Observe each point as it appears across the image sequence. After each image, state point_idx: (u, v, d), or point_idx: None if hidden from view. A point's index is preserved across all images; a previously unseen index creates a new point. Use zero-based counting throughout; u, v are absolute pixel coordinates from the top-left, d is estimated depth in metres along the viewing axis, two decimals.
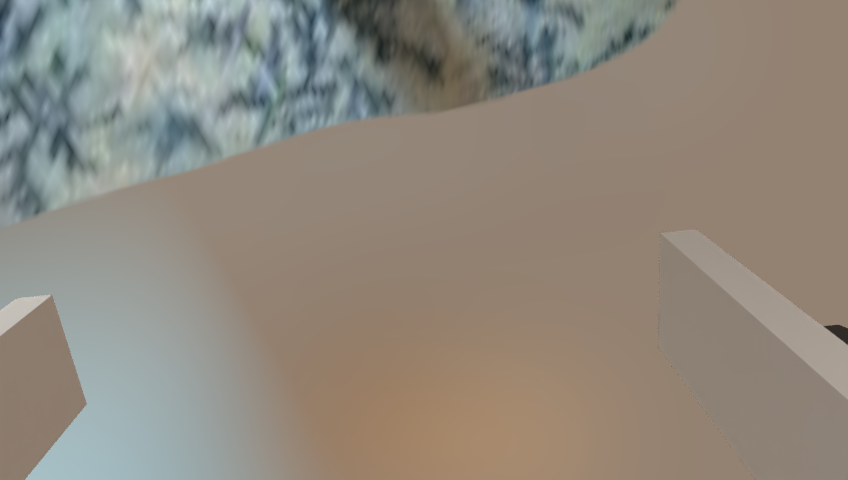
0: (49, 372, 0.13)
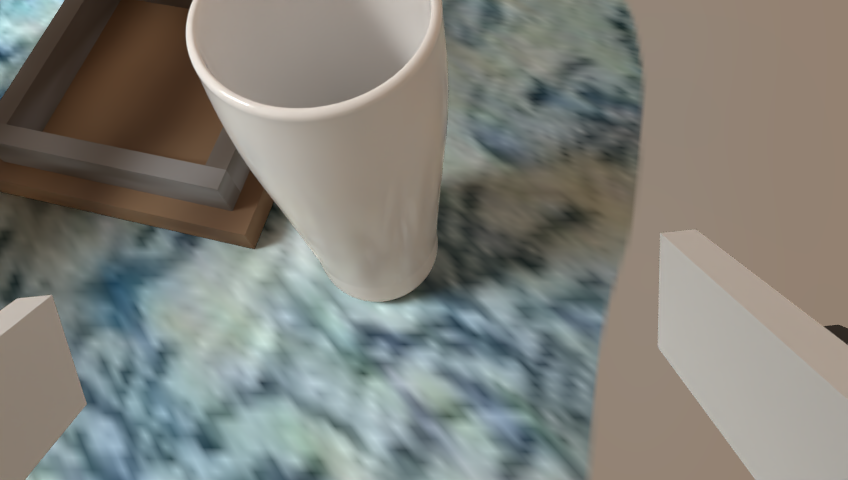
0: (49, 372, 0.13)
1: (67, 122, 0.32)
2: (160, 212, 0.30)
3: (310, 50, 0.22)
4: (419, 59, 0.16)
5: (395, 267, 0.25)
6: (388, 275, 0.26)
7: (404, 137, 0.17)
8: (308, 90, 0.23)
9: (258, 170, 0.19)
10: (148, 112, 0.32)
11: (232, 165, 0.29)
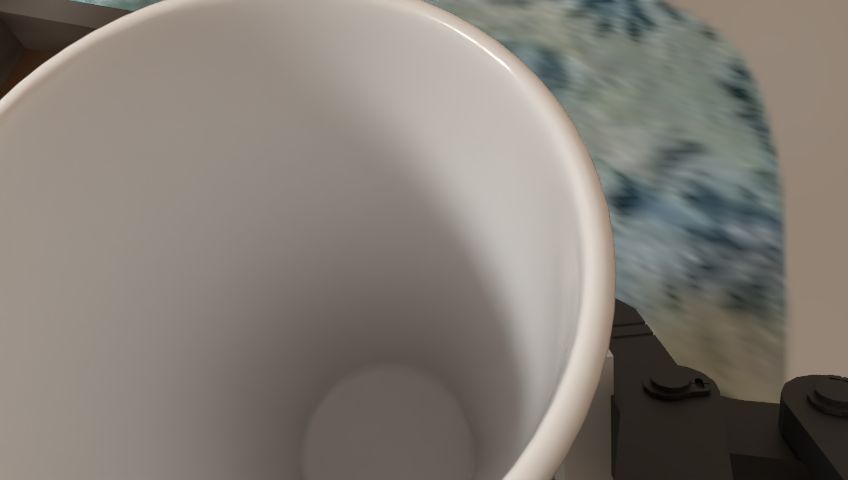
0: None
1: None
2: None
3: (272, 209, 0.11)
4: (569, 432, 0.05)
5: None
6: None
7: None
8: (271, 267, 0.13)
9: None
10: None
11: None
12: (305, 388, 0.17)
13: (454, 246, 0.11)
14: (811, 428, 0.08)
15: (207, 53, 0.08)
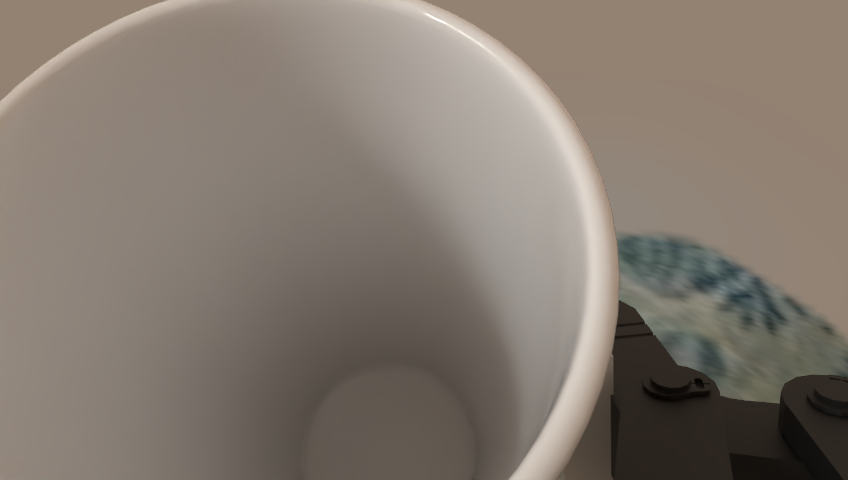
0: None
1: None
2: None
3: (273, 210, 0.11)
4: (572, 435, 0.05)
5: None
6: None
7: None
8: (272, 268, 0.13)
9: None
10: None
11: None
12: (305, 389, 0.17)
13: (455, 247, 0.11)
14: (811, 428, 0.08)
15: (208, 54, 0.08)
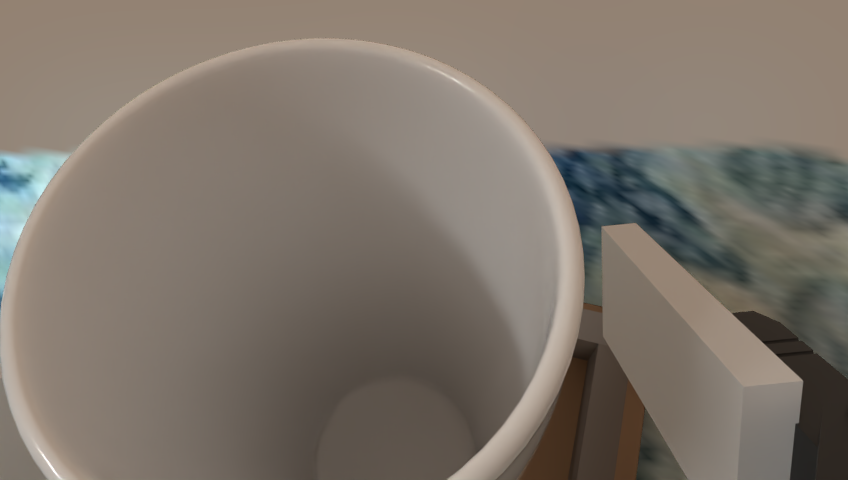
0: None
1: None
2: None
3: (295, 230, 0.13)
4: (546, 399, 0.06)
5: None
6: None
7: None
8: (292, 282, 0.14)
9: None
10: None
11: None
12: (317, 397, 0.18)
13: (456, 262, 0.13)
14: None
15: (249, 98, 0.09)
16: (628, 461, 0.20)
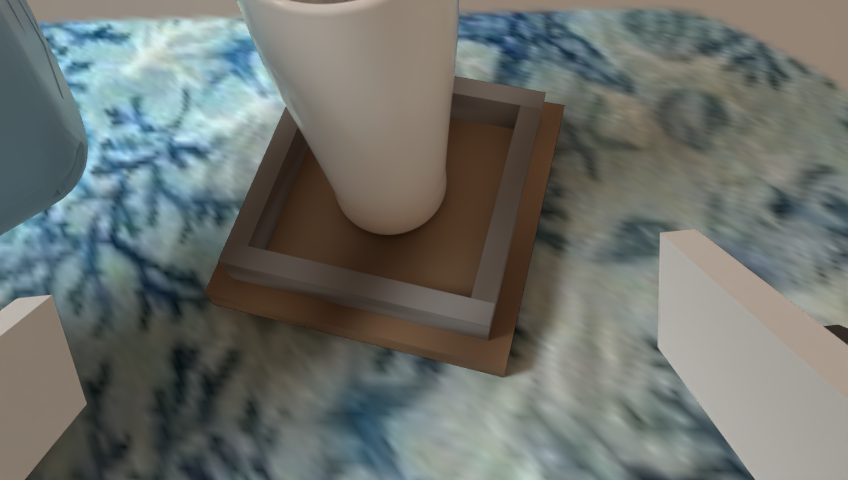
0: (49, 372, 0.13)
1: (293, 235, 0.31)
2: (409, 340, 0.28)
3: None
4: None
5: (407, 194, 0.27)
6: (400, 202, 0.27)
7: (418, 42, 0.19)
8: None
9: (283, 78, 0.20)
10: None
11: (496, 296, 0.27)
12: None
13: None
14: None
15: None
16: (540, 184, 0.31)
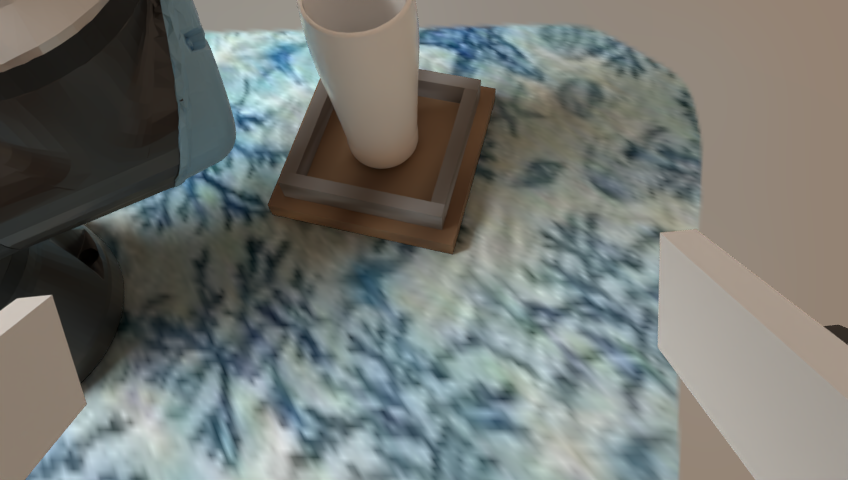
0: (49, 372, 0.13)
1: (322, 170, 0.49)
2: (394, 230, 0.47)
3: (348, 14, 0.42)
4: (403, 12, 0.36)
5: (393, 139, 0.45)
6: (388, 145, 0.46)
7: (396, 50, 0.37)
8: None
9: (326, 69, 0.38)
10: None
11: (446, 201, 0.46)
12: None
13: None
14: None
15: None
16: (478, 138, 0.50)
